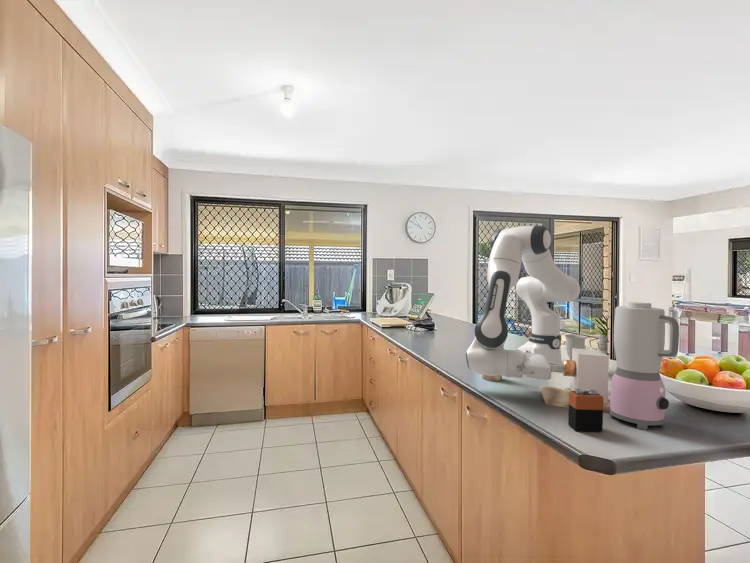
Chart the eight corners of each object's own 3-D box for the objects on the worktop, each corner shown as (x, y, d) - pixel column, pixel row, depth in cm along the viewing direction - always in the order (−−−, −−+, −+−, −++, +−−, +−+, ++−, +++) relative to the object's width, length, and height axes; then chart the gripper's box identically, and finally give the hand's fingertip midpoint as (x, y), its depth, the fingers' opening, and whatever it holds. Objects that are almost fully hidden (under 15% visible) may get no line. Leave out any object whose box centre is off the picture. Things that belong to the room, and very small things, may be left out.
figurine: (501, 377, 147) (501, 345, 147) (502, 382, 140) (503, 349, 140) (481, 375, 149) (482, 344, 148) (482, 380, 142) (482, 348, 142)
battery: (567, 425, 100) (568, 387, 100) (593, 425, 100) (594, 387, 100) (575, 432, 96) (576, 392, 96) (603, 432, 96) (604, 392, 95)
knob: (564, 377, 119) (564, 361, 119) (562, 373, 123) (562, 358, 123) (598, 380, 116) (599, 364, 116) (594, 376, 121) (595, 360, 121)
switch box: (577, 400, 115) (578, 354, 115) (571, 391, 125) (572, 348, 125) (607, 403, 113) (608, 356, 113) (599, 393, 123) (600, 350, 122)
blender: (598, 416, 107) (601, 301, 106) (627, 410, 112) (630, 300, 111) (660, 438, 92) (663, 306, 92) (689, 431, 97) (693, 305, 97)
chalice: (588, 391, 130) (589, 338, 130) (566, 389, 132) (567, 337, 131) (581, 385, 138) (582, 335, 137) (560, 383, 139) (562, 334, 139)
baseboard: (545, 405, 115) (545, 400, 115) (540, 390, 131) (540, 385, 131) (614, 412, 110) (614, 407, 110) (600, 396, 125) (600, 391, 125)
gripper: (518, 361, 115) (569, 365, 111) (515, 348, 135) (558, 351, 131) (517, 382, 116) (568, 387, 111) (515, 366, 135) (558, 370, 131)
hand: (563, 367), depth 121 cm, fingers closed, pressing on knob
